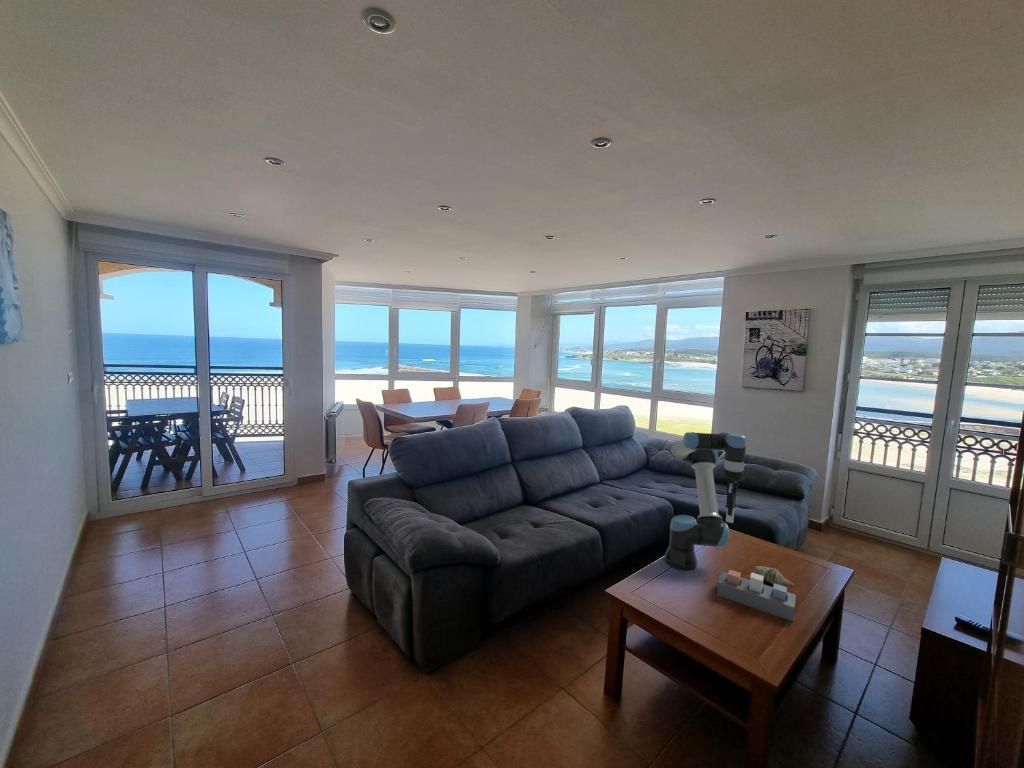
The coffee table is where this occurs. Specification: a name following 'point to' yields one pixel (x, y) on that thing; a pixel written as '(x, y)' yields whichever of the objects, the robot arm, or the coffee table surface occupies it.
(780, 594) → the blue key
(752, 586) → the white key
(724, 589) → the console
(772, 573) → the seashell
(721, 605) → the coffee table surface
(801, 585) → the coffee table surface
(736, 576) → the salmon brown block
